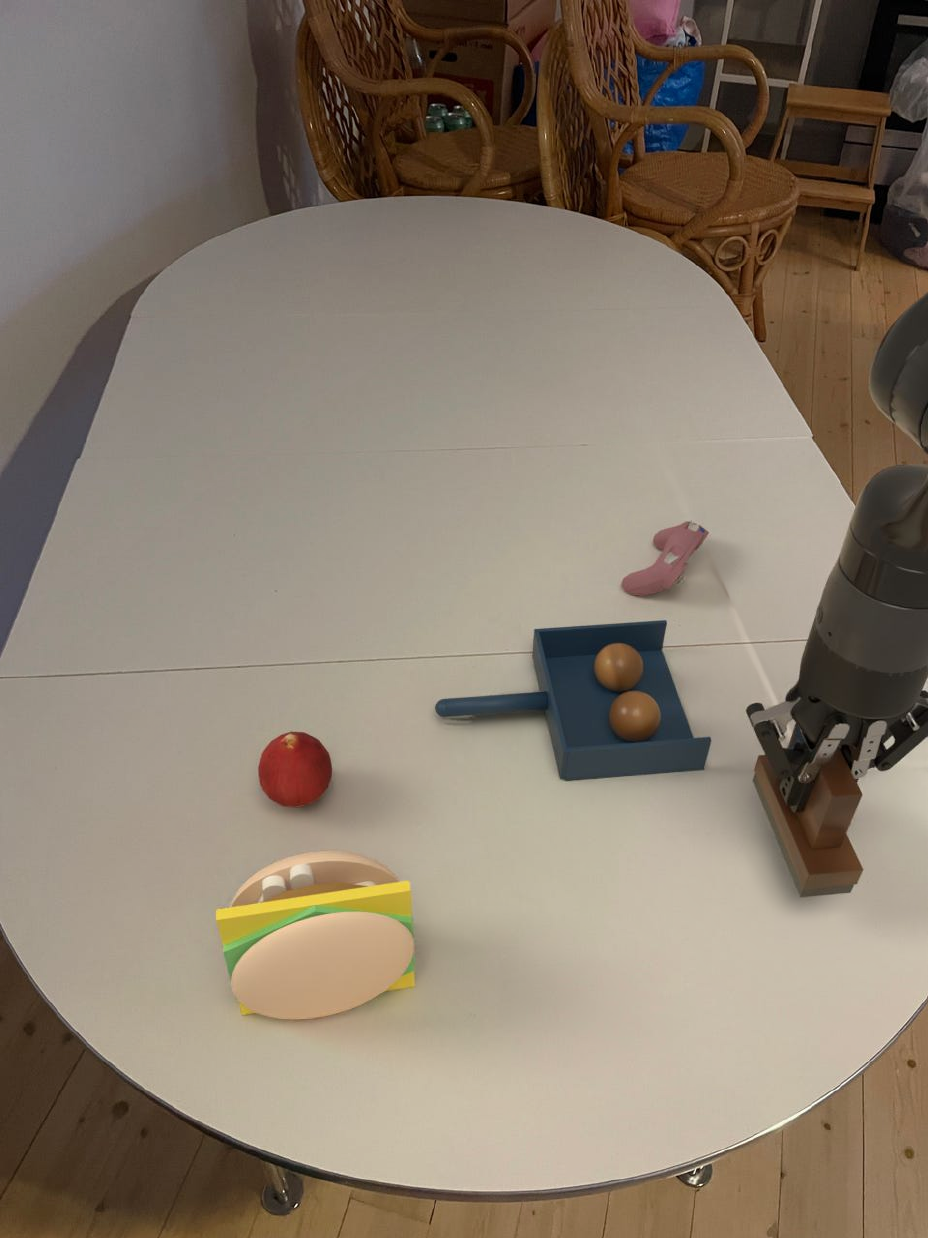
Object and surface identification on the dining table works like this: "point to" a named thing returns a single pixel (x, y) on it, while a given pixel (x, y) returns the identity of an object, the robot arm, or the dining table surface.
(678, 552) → the pink socks
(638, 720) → the cork ball
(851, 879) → the brush
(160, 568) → the dining table surface
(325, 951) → the hamburger
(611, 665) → the brown ball
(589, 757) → the dustpan
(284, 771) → the onion
